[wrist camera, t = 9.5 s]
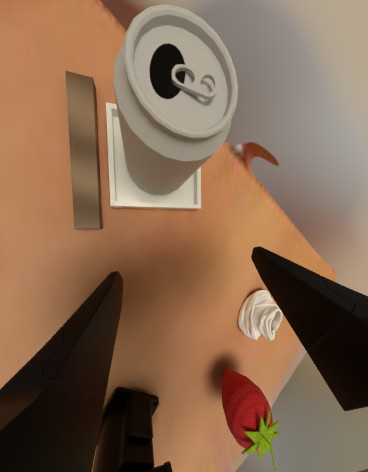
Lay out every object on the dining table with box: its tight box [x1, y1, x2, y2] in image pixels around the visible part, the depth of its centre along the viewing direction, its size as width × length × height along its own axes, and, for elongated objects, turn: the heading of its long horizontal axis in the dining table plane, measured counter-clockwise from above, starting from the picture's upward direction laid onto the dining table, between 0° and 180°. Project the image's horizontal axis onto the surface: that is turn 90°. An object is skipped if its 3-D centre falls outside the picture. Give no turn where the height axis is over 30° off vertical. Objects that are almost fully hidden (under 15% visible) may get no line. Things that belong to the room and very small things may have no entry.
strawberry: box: [222, 370, 279, 472], centre depth 19 cm, size 6×8×10 cm
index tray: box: [106, 102, 201, 210], centre depth 18 cm, size 11×11×2 cm
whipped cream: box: [238, 290, 282, 340], centre depth 23 cm, size 8×7×5 cm
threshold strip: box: [66, 71, 102, 229], centre depth 16 cm, size 16×2×1 cm, turn 1°
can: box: [113, 4, 238, 195], centre depth 13 cm, size 8×8×12 cm
